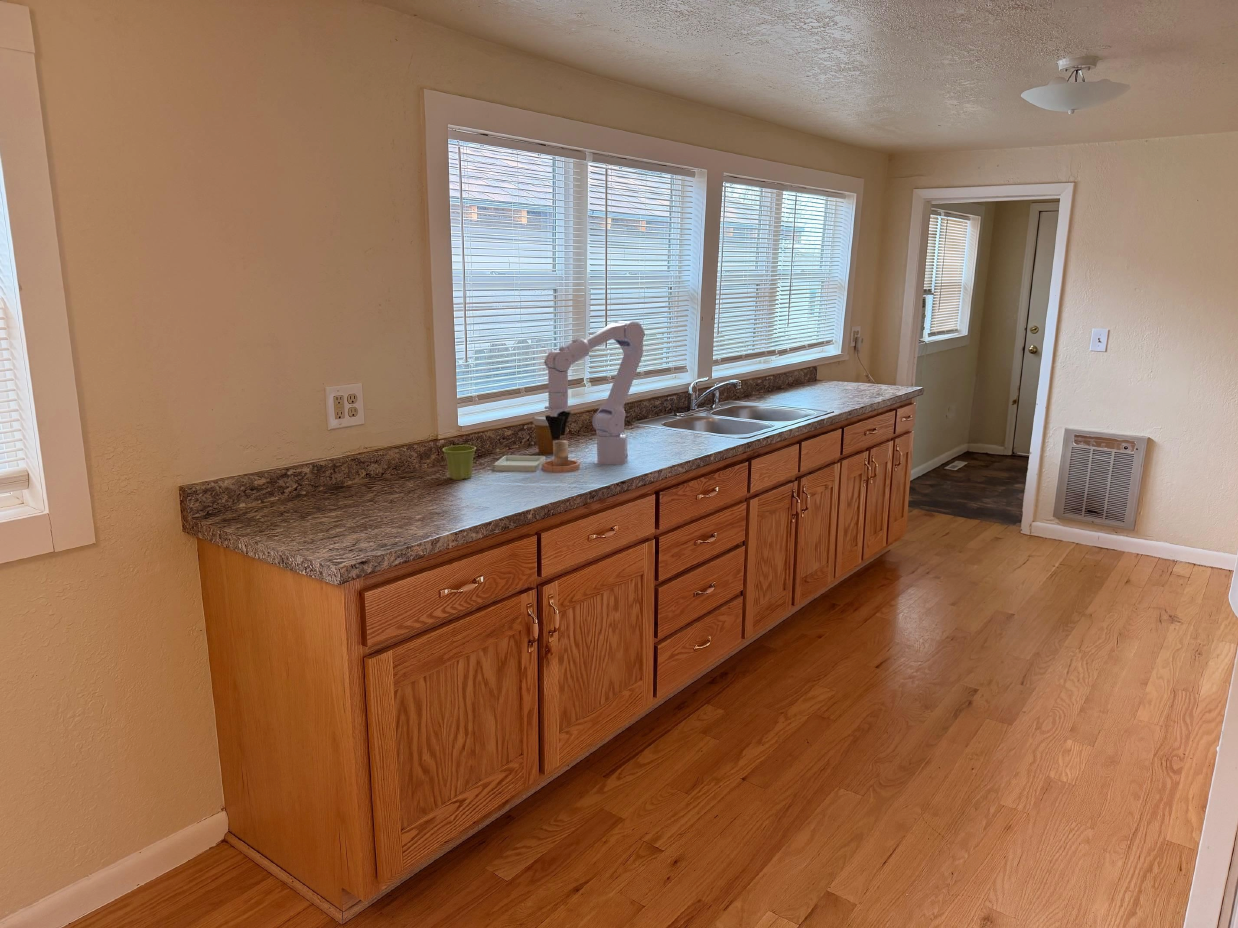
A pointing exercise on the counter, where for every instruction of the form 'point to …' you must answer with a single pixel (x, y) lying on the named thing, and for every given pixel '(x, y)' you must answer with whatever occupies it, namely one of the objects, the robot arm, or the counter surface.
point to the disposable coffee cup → (543, 435)
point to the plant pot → (459, 461)
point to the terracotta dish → (550, 466)
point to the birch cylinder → (560, 453)
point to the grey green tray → (519, 463)
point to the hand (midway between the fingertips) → (558, 437)
